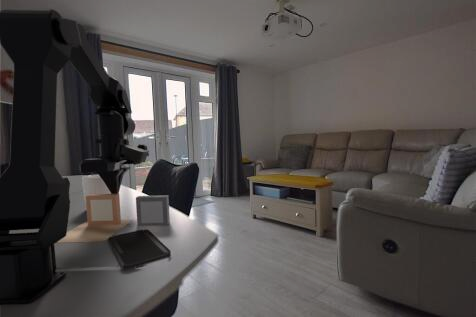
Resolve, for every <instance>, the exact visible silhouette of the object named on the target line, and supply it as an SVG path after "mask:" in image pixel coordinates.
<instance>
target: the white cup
mask: <svg viewBox="0 0 476 317" xmlns="http://www.w3.org/2000/svg"><path fill="white" fill-rule="evenodd" d="M81 184H82V191H83V199H84V203H85V204H86V196H87V195H89V194H111V192H110V191H109V189H108V187H107V186H106V184H105V183H104V181H103V180H102V179H101V177H100V176H99V175H98V173H96V174H90V175H84V176H82V177H81ZM85 210H86V211H87V207H86V206H85Z"/></svg>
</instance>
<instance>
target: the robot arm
mask: <svg viewBox="0 0 476 317" xmlns="http://www.w3.org/2000/svg"><path fill="white" fill-rule="evenodd" d="M87 36H88V35H87V33H86V30H85V28H84V26H83V25H82V24H80V23H78V21H76V20H72V19H68V18H64V17H63V16H62V15H61V14H60V13H59V12H58V11H57V10H55V9H49V8H47V9H44V8H13V7H12V8H10V7H9V8H4V9H1V10H0V46H1V47H2V49H3V50H4V52H5V54H6V55H7V57H8V58H9V59H10V61H11V62H12V64H13V79H12V83H13V84H12V101H11V102H12V104H11V124H10V149H9V164H8V166H7V168H6V169H5V170H4V171H3V173H2V174H1V175H0V304H23V303H24V304H28V303H29V304H30V303H32V302H34V301H35V300H36V299H39V297H40V296H42V294H45V293H46V292H47V291H48V290H50V289H51V288H52V287H53V286H54V285H56V283H58V282H60V280H62V279H63V278H65V277H66V276H67V272H66V271H64V270H63V271H61V270H60V271H56V270H57V261H56V260H57V259H56V250H55V244H57V243H56V242H58V241H59V240H61V239H62V238H64V237H65V236H66V233H67V232H68V226H69V225H68V224H69V217H70V216H69V215H70V208H71V207H70V206H71V199H70V187H71V182H70V180H69V178H68V177H63V176H62V175H61V174H60V172H59V171H58V168H56V166H55V165H56V164H55V163H56V162H55V160H56V159H55V158H56V131H57V130H56V128H57V127H56V124H57V121H56V120H57V92H58V91H57V88H58V74H59V72H61V70H62V69H63V68H64V67H65V66H66V65H67V64H68V62H70V63H71V65H72V66H73V67H74V68H75V70H76V71H77V72H78V74H79V76H80V77H81V78H82V80H83V81H84V82H85V83H86V85H87V86H88V88H89V93H88V98H90V101H91V103H92V104H93V106H94V108H95V112H94V115H95V116H97V125H98V126H97V128H98V138H97V139H95V144H98V145H99V153H100V154H99V155H96V158H87V159H82V160H81V161H80V163H79V173H95V174H98V175H99V176H100V177H101V179H102V180H103V181H104V183H105V184H106V186H107V187H108V189H109V191H110V192H111V194H119V195H120V191H121V190H120V189H121V186H122V181H123V178H124V175H125V174H126V173H127V172H128V171H129V170H131V166H128V167H127V165H134V166H136V165H140V164H142V163H146V161H147V158H148V157H150V153H149V152H150V150H148V145H145V144H143V143H140V144H138V145H137V146H136V145H131V144H129V140H128V138H125V137H126V136H127V137H128V136H130V135H132V134H134V132H135V130H136V123H135V121H134V120H133V118H131V117H130V116H129V114H132V112H133V110H132V107H131V104H130V100H129V98H128V93H127V91H126V89H125V88H124V87H123V86H122V84H121V82H120V81H119V80H118V79H116V78H114V77H112V76H110V75H109V73H108V72H107V70H106V69H105V67H104V66H103V64H102V62H101V60H100V59H99V57H98V55H97V54H96V52H95V50H94V49H93V47H92V45H91V43H90V42H89V40H88V37H87ZM25 230H26V231H27V230H38V231H36V232H33V231H32V232H17V233H16V232H15V233H10V232H11V231H25Z"/></svg>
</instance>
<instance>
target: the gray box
mask: <svg viewBox="0 0 476 317" xmlns="http://www.w3.org/2000/svg"><path fill="white" fill-rule="evenodd" d="M135 207H136V208H135V209H136V224H137V226H138V227H140V226H141V227H142V226H143V227H145V226H148V227H149V226H168V225H169V224H170V222H171V221H170V218H171V217H170V200H169V195H168V194H167V195H165V194H164V195H162V194H161V195H138V196H136V197H135Z"/></svg>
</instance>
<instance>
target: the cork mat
mask: <svg viewBox="0 0 476 317" xmlns="http://www.w3.org/2000/svg"><path fill="white" fill-rule="evenodd" d="M132 221H133V219H121V223H119V224H118V225H88V221H85V222H83V223H81V224H79V225H78V226H76V227H74V228H72V229H70V230H67V233H66V236H65V237H64V238H62V239H61V240H59V241H58V242H56V243H55V244H65V243H67V244H68V243H69V244H71V243H104V242H106V241H108V238H109V237H112V236H114V235H116V233H117V232H119V231H120V230H121V229H123V228H124V227H125V226H126V225H129V223H130V222H132Z"/></svg>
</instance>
